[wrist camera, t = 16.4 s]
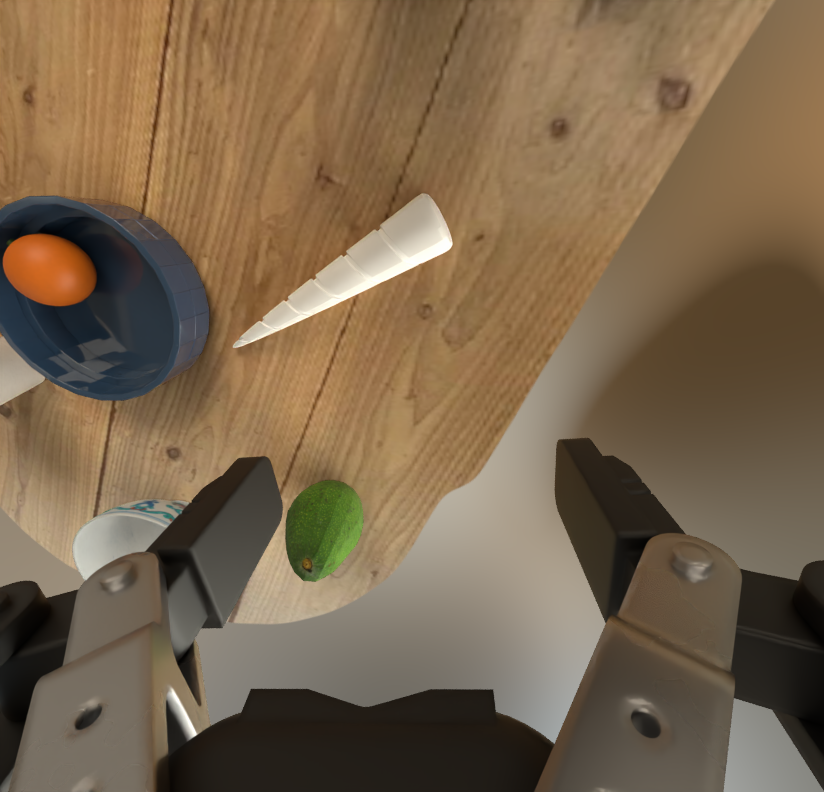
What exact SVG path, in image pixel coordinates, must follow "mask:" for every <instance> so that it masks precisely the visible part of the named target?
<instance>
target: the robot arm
mask: <svg viewBox="0 0 824 792" xmlns="http://www.w3.org/2000/svg"><path fill="white" fill-rule="evenodd" d="M555 499H556V505H557V509H558V512H559V514H560V517H561V519H562V521H563V524H564V526H565V529H566V531H567V533H568V535H569V537H570V540H571V543H572V545H573V547H574V550H575V552H576V554H577V557H578V559H579V562H580V564H581V566H582V568H583V571H584V573H585V576H586V578H587V580H588V583H589V585H590V587H591V590H592V592H593V594H594V597H595V599H596V602H597V604H598V606H599V609H600V611H601V613H602V615H603V618H604V620H605V623H606V625H605V628H604V629H603V632H602V634H601V636H600V639H599V641H598V643H597V646H596V648H595V650H594V653H593V655H592V657H591V660H590V662H589V664H588V667H587V669H586V672H585V674H584V676H583V679H582V681H581V683H580V686H579V688H578V690H577V693H576V695H575V697H574V700H573V702H572V704H571V707H570V709H569V711H568V714H567V716H566V719H565V721H564V723H563V726H562V728H561V730H560V732H559V735H558V737H557V740H556V742H555V744H554V743H553V742H551V741H550V740H549V739H547V738H546V737H545V736H544V735H542V734H541V733H539V732H538V731H536V730H535V729H533V728H531V727H529V726H528V725H526V724H525V723H522V722H520V721H518V720H516V719H514V718H512V717H510V716H507V715H503V714H500V713H497V712H496V710H495V702H494V693H493V690H456V689H455V690H453V689H452V690H451V689H448V690H447V689H440V690H439V689H434V690H432V689H431V690H427V691H424V692H420V693H417V694H413V695H410V696H406V697H403V698H399V699H396V700H392V701H389V702H386V703H382V704H378V705H375V706H370V707H361V706H357V705H354V704H351V703H348V702H345V701H342V700H339V699H336V698H333V697H330V696H327V695H324V694H321V693H318V692H315V691H312V690H309V689H251V691H250V693H249V695H248V698H247V700H246V703H245V705H244V707H243V710H242V712H241V713H238V714H235V715H233V716H230V717H228V718H226V719H223V720H221V721H219V722H217V723H215V724H214V725H212V726H211V724H210V719H209V714H208V707H207V701H206V694H205V687H204V680H203V674H202V667H201V660H200V654H199V648H198V645H197V642H196V640H195V637H196V636H197V634H198V632H199V631H200V629H201V628H223V626H224V624H225V623H226V621H227V619H228V617H229V615H230V614H231V612H232V610H233V608H234V606H235V604H236V603H237V601H238V599H239V597H240V595H241V593H242V592H243V590H244V588H245V586H246V584H247V582H248V581H249V579H250V577H251V575H252V573H253V571H254V570H255V568H256V566H257V564H258V562H259V560H260V559H261V557H262V555H263V553H264V551H265V549H266V548H267V546H268V544H269V542H270V540H271V538H272V537H273V535H274V533H275V531H276V529H277V527H278V526H279V524H280V521H281V518H282V511H283V505H282V499H281V496H280V492H279V489H278V485H277V482H276V478H275V475H274V471H273V468H272V464H271V462H270V460H269V458H267V457H265V456H262V457H246V458H238V459H237V460H236V461H235V462H234V463H233V464H232V465H231V466H230V468H229V469H228V470H227V471H226V472H225V473H224V474H223V476H220V477H219V478H217V479H216V480H214V481H213V482H211V483H210V484H208V485H207V486H205V487H204V488H203V489H202V490H201V491H200V492H199V493H198V494H197V495H196V496H195V497H194V499H193V500H192V503H189V504H188V505H187V506H186V507H185V508H184V509H183V511H182V514H179V515H178V516H177V517H176V518H175V519H174V520H173V521H172V523H171V524H170V525H169V526H168V527H167V528H166V529H165V530H164V531H163V532H162V533H161V534H160V536H159V537H158V538H157V539H156V540H155V541H154V542H153V543H152V544H151V545H150V546H149V548H148V549H147V550H146V551H145V552H135V553H131V554H127V555H125V556H122V557H119V558H117V559H115V560H113V561H111V562H109V563H107V564H106V565H104V566H103V567H101V568H100V569H98V570H97V571H96V572H94V573H93V574H92V575H91V576H90V577H89V578H88V579H87V580H86V581H85V582H84V583H83V584H82V585H81V587H80V589H79V590H74V591H71V592H67V593H63V594H60V595H56V596H52V597H49V598H46V597H45V596H44V594H43V593H42V591H41V589H40V588H39V586H38V585H37V583H35V582H33V581H20V582H16V583H12V584H9V585H6V586H3V587H0V792H723V790H724V781H725V771H726V763H727V754H728V745H729V735H730V727H731V718H732V709H733V700H734V698H736V699H739V700H742V701H746V702H749V703H752V704H755V705H759V706H762V707H765V708H768V709H772V710H773V712H774V713H775V715H776V716H777V718H778V720H779V721H780V723H781V724H782V726H783V727H784V729H785V731H786V732H787V734H788V735H789V737H790V738H791V740H792V741H793V743H794V745H795V746H796V748H797V749H798V751H799V753H800V754H801V756H802V757H803V759H804V760H805V762H806V764H807V765H808V767H809V768H810V770H811V771H812V773H813V775H814V776H815V778H816V779H817V781H818V782H819V784H820V786H821V787H822V789H823V790H824V560H823V561H815V562H811V563H809V564H807V565H806V566H805V567H804V568H803V571H802V573H801V576H800V578H799V581H797V580H791V579H787V578H782V577H776V576H771V575H766V574H761V573H756V572H751V571H747V570H743V569H740V568H739V567H738V565H737V564H736V563H735V561H734V560H733V559H732V558H731V557H730V556H729V555H728V554H726V553H725V552H724V551H722V550H721V549H720V548H718V547H716V546H715V545H713V544H711V543H709V542H707V541H704V540H702V539H699V538H697V537H693V536H690V535H686V534H685V533H684V531H683V530H682V529H681V528H680V527H679V525H678V524H677V523H676V522H675V521H674V519H673V518H672V517H671V515H670V514H669V513H668V512H667V511H666V509H665V508H664V507H663V506H662V504H661V503H660V502H659V501H658V499H657V498H656V497H655V496H654V495H653V494H651V491H650V490H649V489H648V487H647V486H646V485H645V484H644V483H642V481H641V479H640V477H639V476H638V475H637V474H636V472H635V471H634V470H633V469H632V468H631V467H630V466H629V465H627V464H626V463H624V462H622V461H621V460H619V459H618V458H616V457H614V456H602V454H601V453H600V452H599V450H598V449H597V448H596V446H595V445H594V444H593V442H592V441H591V440H590V439H589V438H579V439H561V440H558V442H557V448H556V472H555Z"/></svg>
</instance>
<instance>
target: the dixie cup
mask: <svg viewBox="0 0 824 792" xmlns="http://www.w3.org/2000/svg"><path fill="white" fill-rule="evenodd" d="M44 380H45V377H44V376H43V375H41V374H40V373H38V372H37V371H36V370H34V369H33V368H31V366H29V365H28V364H27V363H26V362H25V361H24V360H23V359H22V358H21V357H20V356H19V355H18V354H17V353H16V352H15V351H14V350H13V349H12V348H11V347H10V346H9V344H8V343H7V341H6V340H5V338H4V337H0V405H2V404H4V403H6V402H7V401H9V400H11V399H13V398H15V397H17V396H19V395H20V394H22V393H24V392H26V391H28V390H30V389H31V388H33V387H35V386H37V385H39V384H41V383H42V382H43V381H44Z"/></svg>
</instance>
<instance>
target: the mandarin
mask: <svg viewBox="0 0 824 792" xmlns="http://www.w3.org/2000/svg"><path fill="white" fill-rule="evenodd" d="M6 244H7V245H8V248H7V249H6V251H5V253H4V257H3V268H4V272H5V274H6V277H7V278H8V280H9V282H10V283H11V284H12V285H13V287H14V288H15V289H16V290H18V291H19V292H20V293H21V294H23V295H24V296H26V297H27V298H29V299H31V300H34V301H36V302H39V303H42V304H45V305H51V306H69V305H73V304H76V303H79V302H81V301H83V300H84V299H86V298H87V297H88V296H89V295H90V294H91V293H92V292H93V290H94V288H95V286H96V282H97V273H96V269H95V266H94V264H93V262H92V260H91V259H90V257H89V256H88V255H87V254H86V253H85V252H84V251H83V250H82V249H81V248H80V247H79V246H77V245H76V244H74V243H73V242H71V241H69V240H67V239H64V238H62V237H59V236H55V235H50V234H30V235H26V236H23V237H20V238H18V239H17V240H14V239H10V240H8V241H7V243H6Z"/></svg>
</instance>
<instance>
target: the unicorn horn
mask: <svg viewBox="0 0 824 792" xmlns="http://www.w3.org/2000/svg"><path fill="white" fill-rule="evenodd" d="M452 244H453V243H452V238H451V235H450V232H449V229H448V227H447V224H446V222H445V220H444V218H443V216H442V214H441V212H440V210H439V208H438V207H437V205H436V204H435V202H434V200H433V199H432V198H431V197H430V196H429V195H428V194H423V193H422V194H420V195H419V196H417V197H415V198H414V199H413V200H412V201H410V202H409V203H408V204H407V205H405V206H404V207H403V208H401V209H400V210H399V211H398V212H396V213H395V214H394V215H392V216H391V217H390V218H389V219H387V220H386V221H385V222H383V223H382V224H381V225H380V229H379V230H378V231H376V230H375V229H374V230H373V231H372V232H370V233H369V234H368V235H366V236H365V237H364V238H363V239H361V240H360V241H359V242H357V243H356V244H355V245H353V246H352V247H351V248H350V249H348V250H347V251H346V253H347V255H345V256H344V257H343V256H342V255H340V256H339V257H338V258H337V259H335V260H334V261H333V262H331V263H330V264H329V265H328V266H326V267H325V268H324V269H322V270H321V271H320V272H319V273H317V274H316V277H317V278H316V279H314V280H312V279H310V280H308V281H307V282H306V283H305V284H303V285H302V286H301V287H299V288H298V289H297V290H296V291H294V292H293V293H292V294H291V295H289V296H288V299H289V300H288V301H287V302H285V301H284V300H283V301H282V302H281V303H280V304H278V305H277V306H276V307H275V308H273V309H272V310H271V311H270V312H269V313H267V314H266V315H265V316H264V317H263V321H262V322H260V321H258V322H257V323H256V324H254V325H253V326H252V327H251V328H250V329H249V330H248V331H247V332H245V333H244V334H243V335H242V336H241V337H240V338H239V340H238V341H236V343H235V344H234V345H233V348H237V347H241V346H243V345H246V344H249V343H251V342H253V341H255V340H258V339H261V338H263V337H265V336H268V335H270V334H272V333H275V332H277V331H279V330H281V329H283V328H286V327H288V326H290V325H292V324H294V323H297V322H299V321H301V320H303V319H305V318H307V317H310V316H312V315H314V314H315V313H318V312H320V311H322V310H325V309H327V308H329V307H331V306H333V305H335V304H337V303H339V302H342V301H344V300H346V299H347V298H349V297H352V296H354V295H356V294H358V293H361V292H363V291H365V290H367V289H369V288H371V287H373V286H375V285H377V284H379V283H381V282H383V281H386V280H388V279H390V278H392V277H394V276H396V275H398V274H400V273H402V272H404V271H407V270H409V269H411V268H413V267H415V266H417V265H419V263H423V262H425V261H427V260H430V259H432V258H434V257H436V256H438V255H440V254H442V253H444V252H446V251H448V250H449V249H450V248H451V246H452Z"/></svg>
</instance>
